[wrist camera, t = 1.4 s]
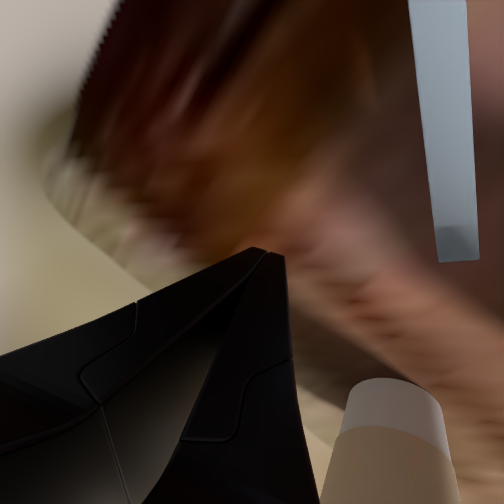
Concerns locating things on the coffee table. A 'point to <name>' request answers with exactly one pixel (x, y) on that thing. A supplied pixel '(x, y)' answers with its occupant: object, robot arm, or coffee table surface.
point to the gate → (447, 123)
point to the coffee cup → (391, 448)
